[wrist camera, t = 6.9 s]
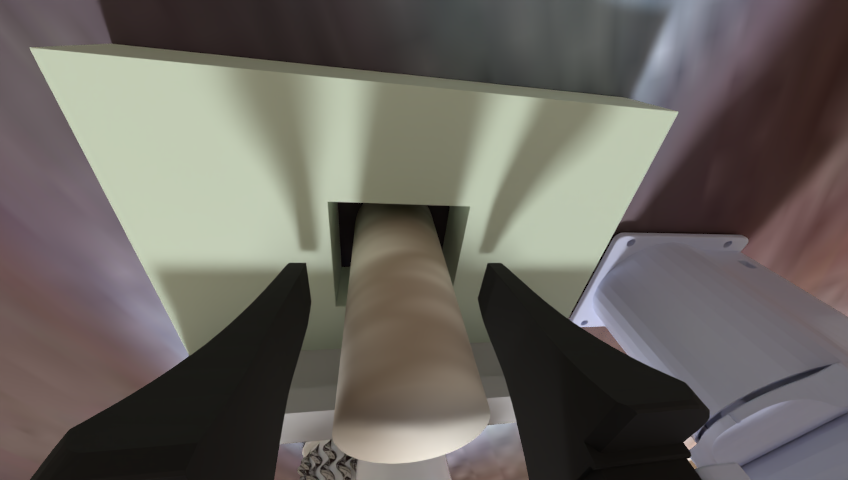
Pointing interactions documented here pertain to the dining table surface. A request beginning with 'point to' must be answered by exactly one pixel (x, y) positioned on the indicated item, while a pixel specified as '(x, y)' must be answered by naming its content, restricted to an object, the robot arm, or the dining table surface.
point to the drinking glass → (404, 470)
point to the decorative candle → (326, 462)
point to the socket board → (344, 185)
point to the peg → (404, 346)
